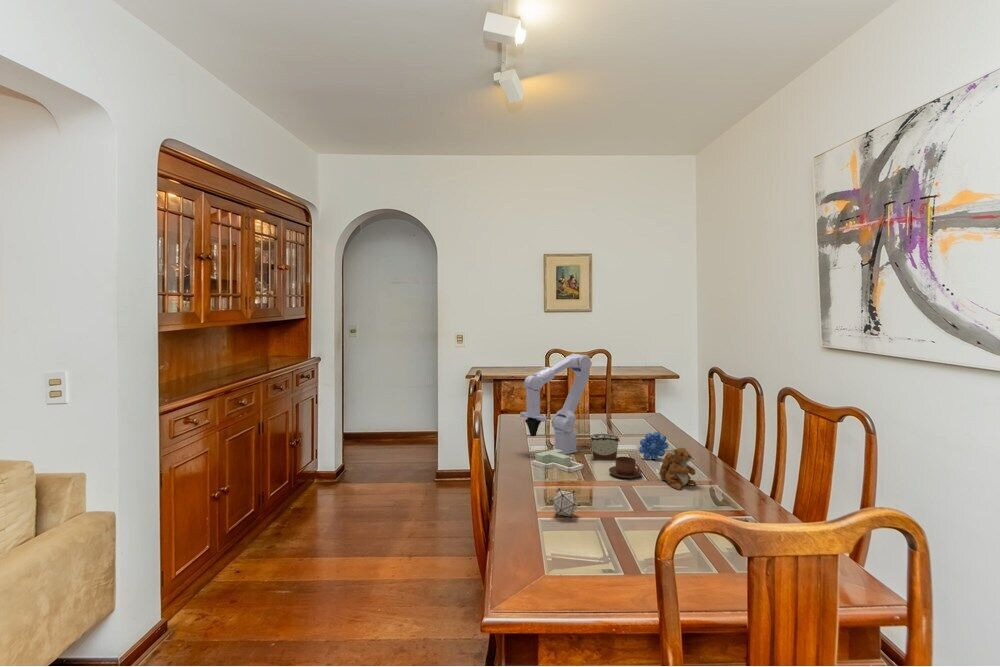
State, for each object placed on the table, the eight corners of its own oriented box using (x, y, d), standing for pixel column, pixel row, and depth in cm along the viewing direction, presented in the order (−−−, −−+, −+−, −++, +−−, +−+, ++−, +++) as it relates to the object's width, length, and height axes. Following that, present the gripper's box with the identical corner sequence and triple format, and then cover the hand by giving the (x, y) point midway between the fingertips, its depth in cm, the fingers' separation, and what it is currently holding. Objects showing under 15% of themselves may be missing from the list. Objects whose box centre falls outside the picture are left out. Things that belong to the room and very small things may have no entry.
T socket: (559, 457, 217) (559, 453, 216) (590, 466, 203) (590, 463, 203) (532, 464, 207) (532, 460, 207) (562, 474, 194) (562, 470, 193)
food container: (617, 456, 217) (618, 433, 217) (619, 461, 211) (620, 437, 211) (588, 456, 218) (588, 433, 218) (589, 460, 212) (589, 436, 212)
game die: (558, 526, 155) (546, 495, 160) (584, 515, 156) (571, 485, 160) (558, 522, 147) (545, 490, 152) (585, 511, 148) (571, 479, 153)
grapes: (668, 458, 214) (668, 430, 214) (667, 463, 208) (668, 433, 208) (639, 456, 219) (640, 428, 218) (638, 460, 212) (638, 431, 212)
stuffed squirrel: (679, 491, 175) (680, 453, 175) (650, 479, 188) (651, 443, 188) (700, 486, 180) (701, 449, 179) (671, 475, 192) (671, 440, 192)
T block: (556, 458, 216) (556, 448, 215) (577, 464, 206) (577, 454, 206) (535, 463, 208) (535, 453, 208) (556, 470, 199) (556, 460, 199)
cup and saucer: (645, 473, 195) (645, 457, 195) (636, 482, 184) (637, 465, 184) (614, 469, 201) (614, 453, 201) (604, 477, 190) (604, 461, 190)
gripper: (514, 402, 220) (515, 434, 221) (538, 407, 209) (538, 440, 209) (527, 401, 224) (527, 431, 225) (550, 405, 213) (550, 437, 214)
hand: (533, 435), depth 217 cm, fingers closed
